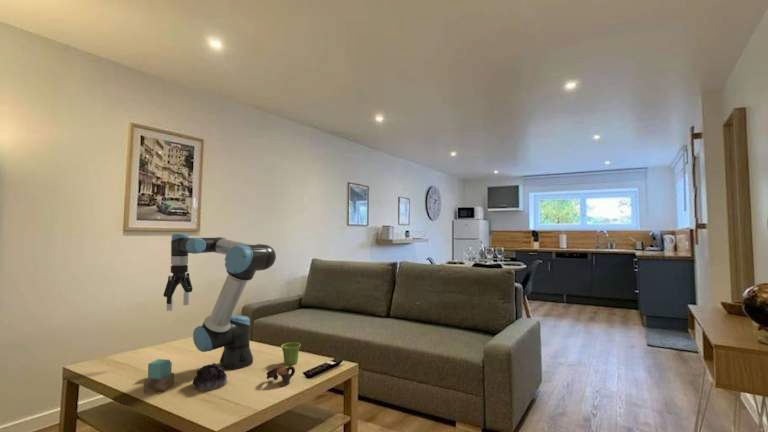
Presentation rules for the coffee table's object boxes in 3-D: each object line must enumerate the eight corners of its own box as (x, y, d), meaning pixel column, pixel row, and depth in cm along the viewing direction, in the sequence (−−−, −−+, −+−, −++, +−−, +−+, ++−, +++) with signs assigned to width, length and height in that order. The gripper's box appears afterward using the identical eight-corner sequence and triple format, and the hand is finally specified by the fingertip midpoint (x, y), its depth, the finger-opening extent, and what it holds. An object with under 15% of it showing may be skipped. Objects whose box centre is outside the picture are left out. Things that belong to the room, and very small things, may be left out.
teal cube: (169, 374, 159) (170, 359, 159) (160, 379, 153) (160, 364, 154) (157, 373, 160) (158, 359, 160) (147, 378, 154) (148, 363, 154)
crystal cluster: (203, 380, 167) (201, 357, 167) (234, 377, 167) (231, 355, 166) (187, 395, 154) (184, 371, 153) (220, 393, 153) (218, 368, 153)
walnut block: (173, 384, 160) (173, 372, 161) (164, 392, 152) (165, 380, 153) (153, 385, 160) (153, 373, 160) (143, 393, 152) (143, 381, 152)
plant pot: (276, 364, 184) (277, 346, 184) (288, 358, 193) (288, 341, 193) (293, 367, 181) (293, 348, 181) (304, 361, 189) (304, 343, 190)
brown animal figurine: (274, 391, 155) (266, 371, 157) (269, 393, 162) (262, 375, 164) (301, 376, 162) (293, 358, 164) (295, 380, 169) (287, 362, 171)
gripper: (186, 262, 202) (185, 303, 201) (155, 266, 177) (154, 312, 176) (200, 262, 201) (199, 303, 200) (171, 267, 176) (170, 313, 176)
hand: (178, 307), depth 188 cm, fingers open, 13 cm apart
